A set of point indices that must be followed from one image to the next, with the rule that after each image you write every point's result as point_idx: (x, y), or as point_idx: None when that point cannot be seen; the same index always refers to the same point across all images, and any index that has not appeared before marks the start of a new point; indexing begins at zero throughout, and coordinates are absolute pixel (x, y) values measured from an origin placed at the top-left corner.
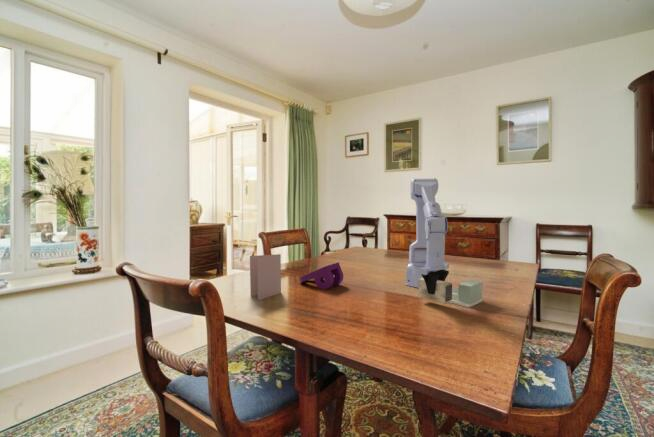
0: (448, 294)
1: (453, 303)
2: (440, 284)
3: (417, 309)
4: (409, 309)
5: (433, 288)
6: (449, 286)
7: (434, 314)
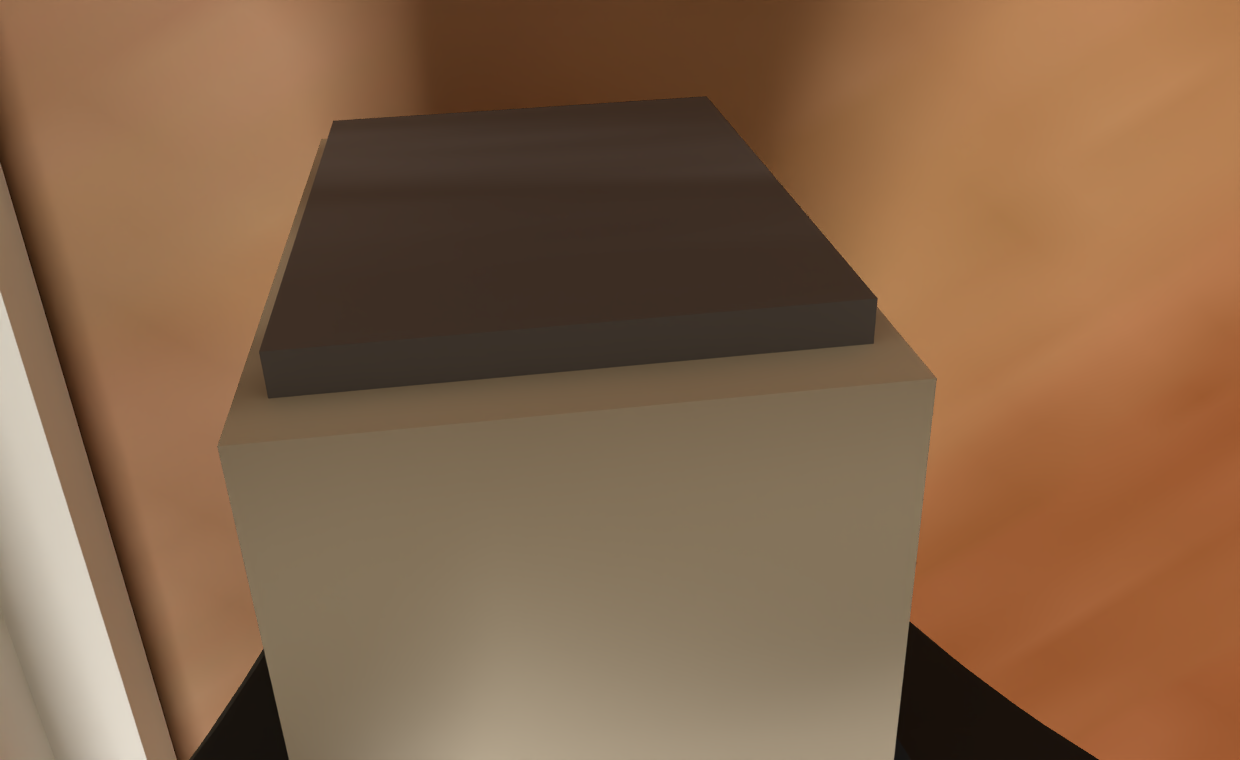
0: (604, 169)
1: (15, 215)
2: (895, 597)
3: (1087, 447)
4: (1185, 527)
5: (924, 646)
6: (567, 302)
7: (1158, 40)
